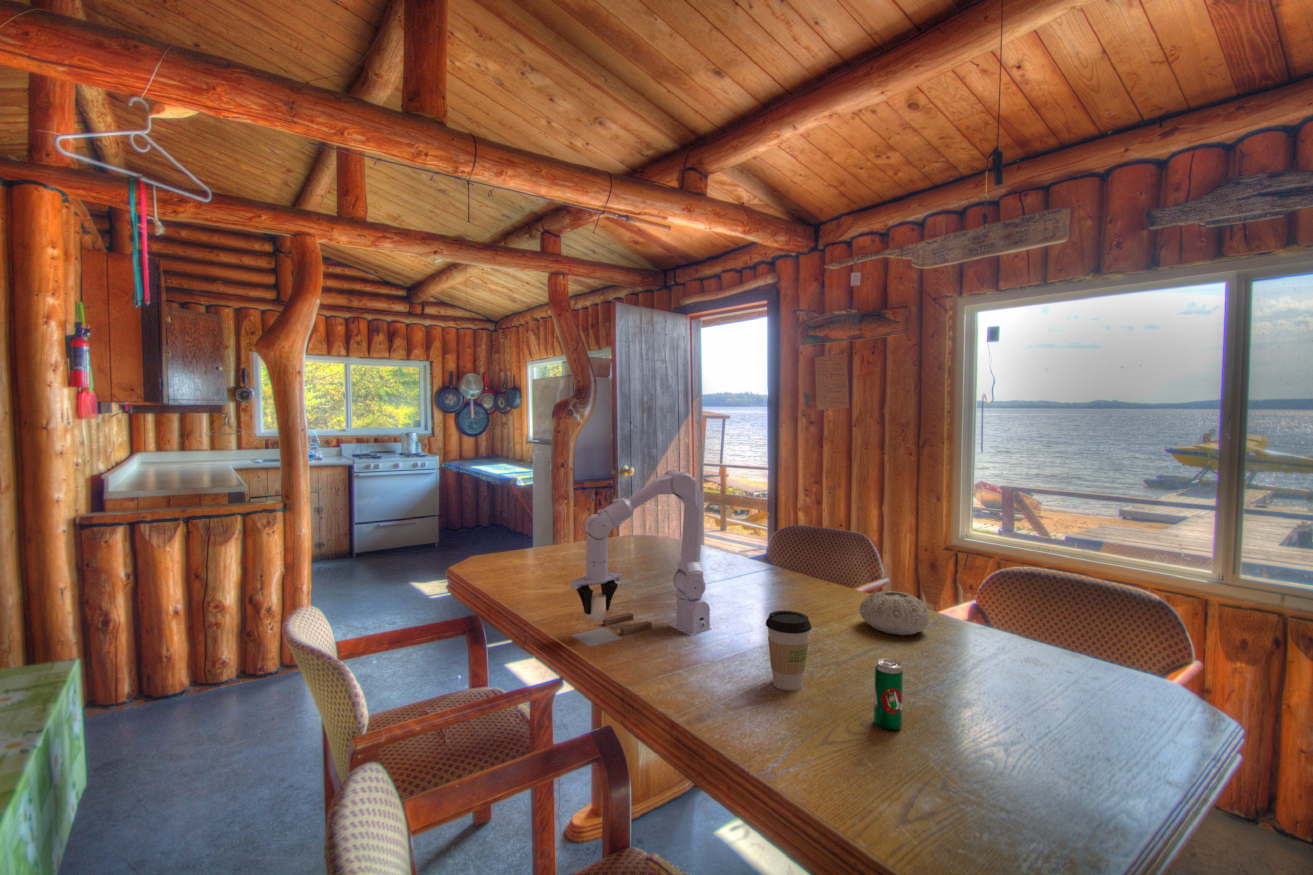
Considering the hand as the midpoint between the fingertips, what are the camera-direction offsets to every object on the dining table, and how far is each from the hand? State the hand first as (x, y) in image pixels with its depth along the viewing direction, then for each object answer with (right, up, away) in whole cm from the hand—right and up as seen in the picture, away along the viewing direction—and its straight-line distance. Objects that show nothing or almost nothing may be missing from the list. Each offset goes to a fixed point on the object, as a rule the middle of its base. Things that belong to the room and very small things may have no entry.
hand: (596, 611), depth 157 cm
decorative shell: (+82, -8, +9) cm, 83 cm away
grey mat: (0, -7, 0) cm, 7 cm away
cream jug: (-1, -2, +1) cm, 2 cm away
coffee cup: (+45, -9, -26) cm, 53 cm away
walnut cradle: (+8, -7, +8) cm, 13 cm away
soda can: (+60, -9, -44) cm, 75 cm away
